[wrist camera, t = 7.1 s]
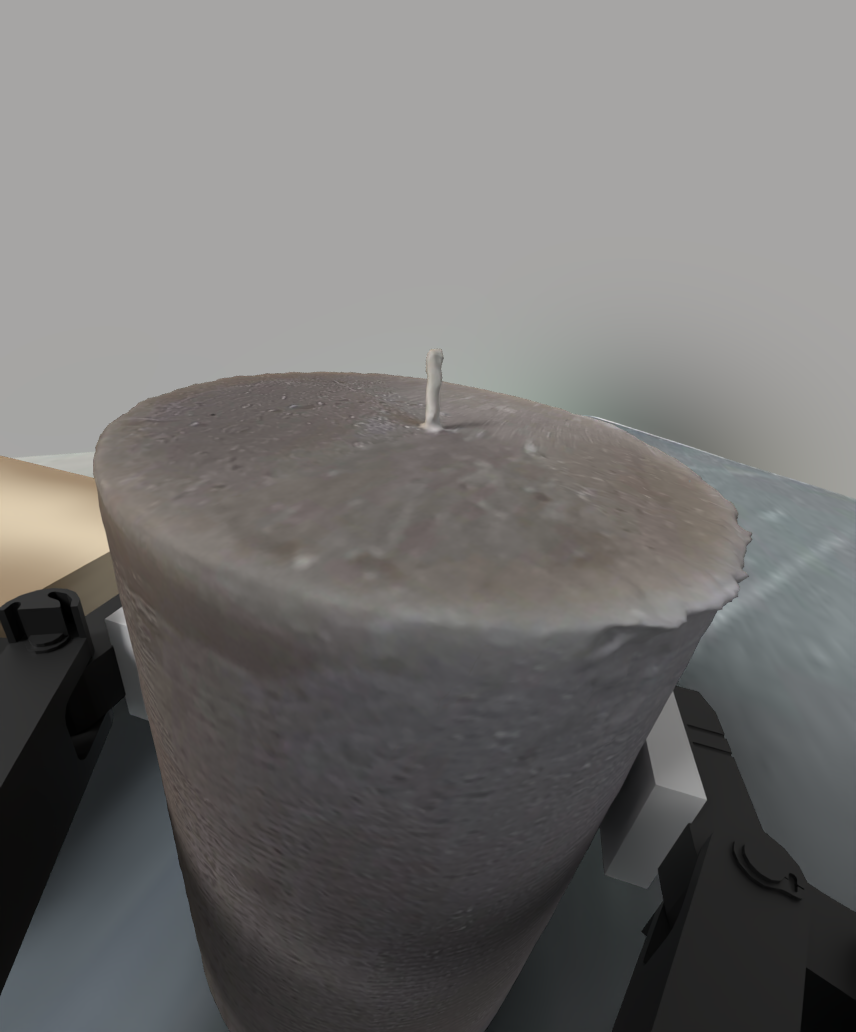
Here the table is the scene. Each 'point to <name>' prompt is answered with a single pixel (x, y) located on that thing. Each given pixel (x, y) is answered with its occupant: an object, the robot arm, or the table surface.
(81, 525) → the oak block
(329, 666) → the pillar candle
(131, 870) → the table surface
